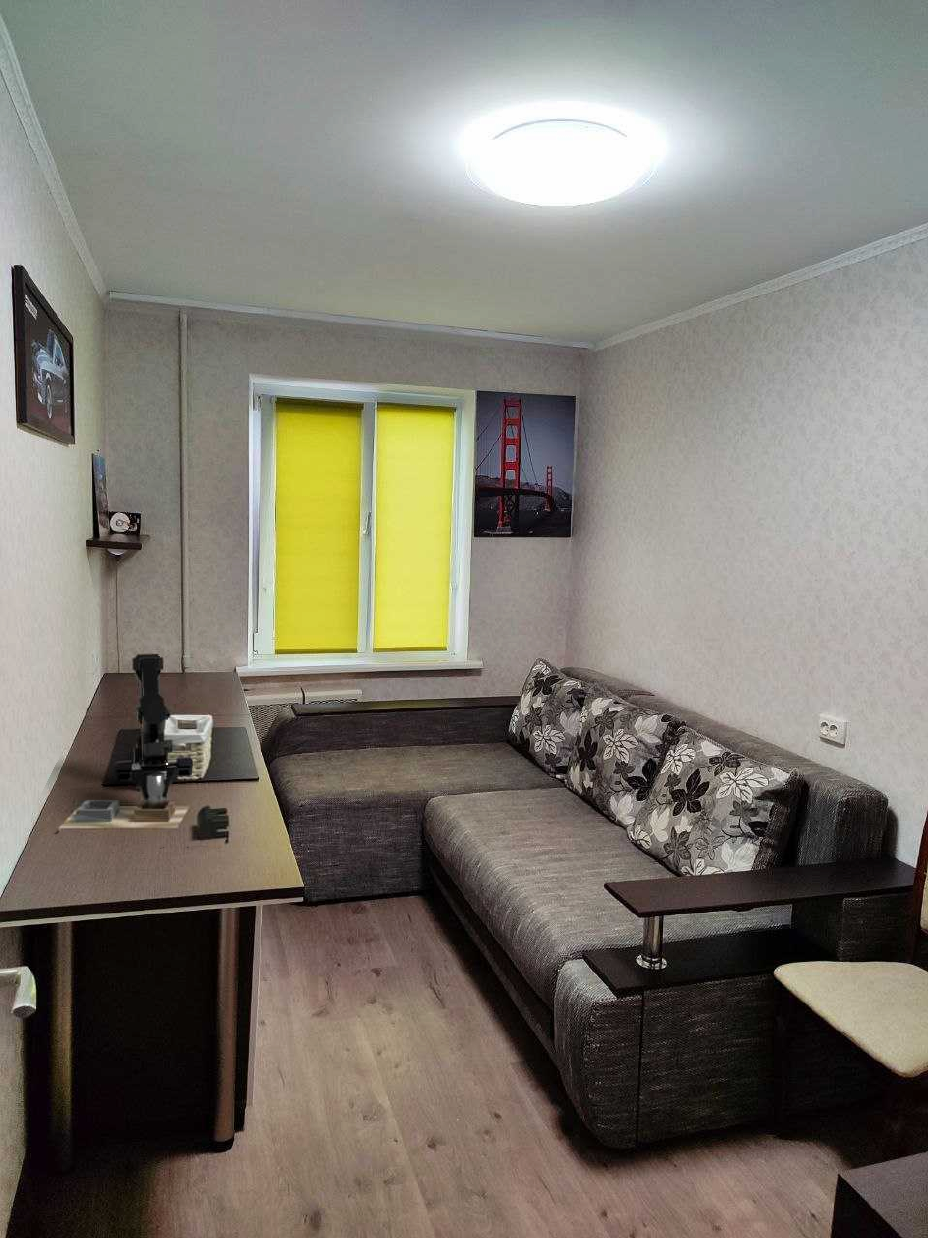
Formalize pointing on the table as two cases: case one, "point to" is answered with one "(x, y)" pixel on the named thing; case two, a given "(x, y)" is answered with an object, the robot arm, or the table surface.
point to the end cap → (212, 823)
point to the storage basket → (190, 742)
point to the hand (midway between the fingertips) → (155, 798)
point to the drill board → (124, 815)
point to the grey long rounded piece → (155, 790)
